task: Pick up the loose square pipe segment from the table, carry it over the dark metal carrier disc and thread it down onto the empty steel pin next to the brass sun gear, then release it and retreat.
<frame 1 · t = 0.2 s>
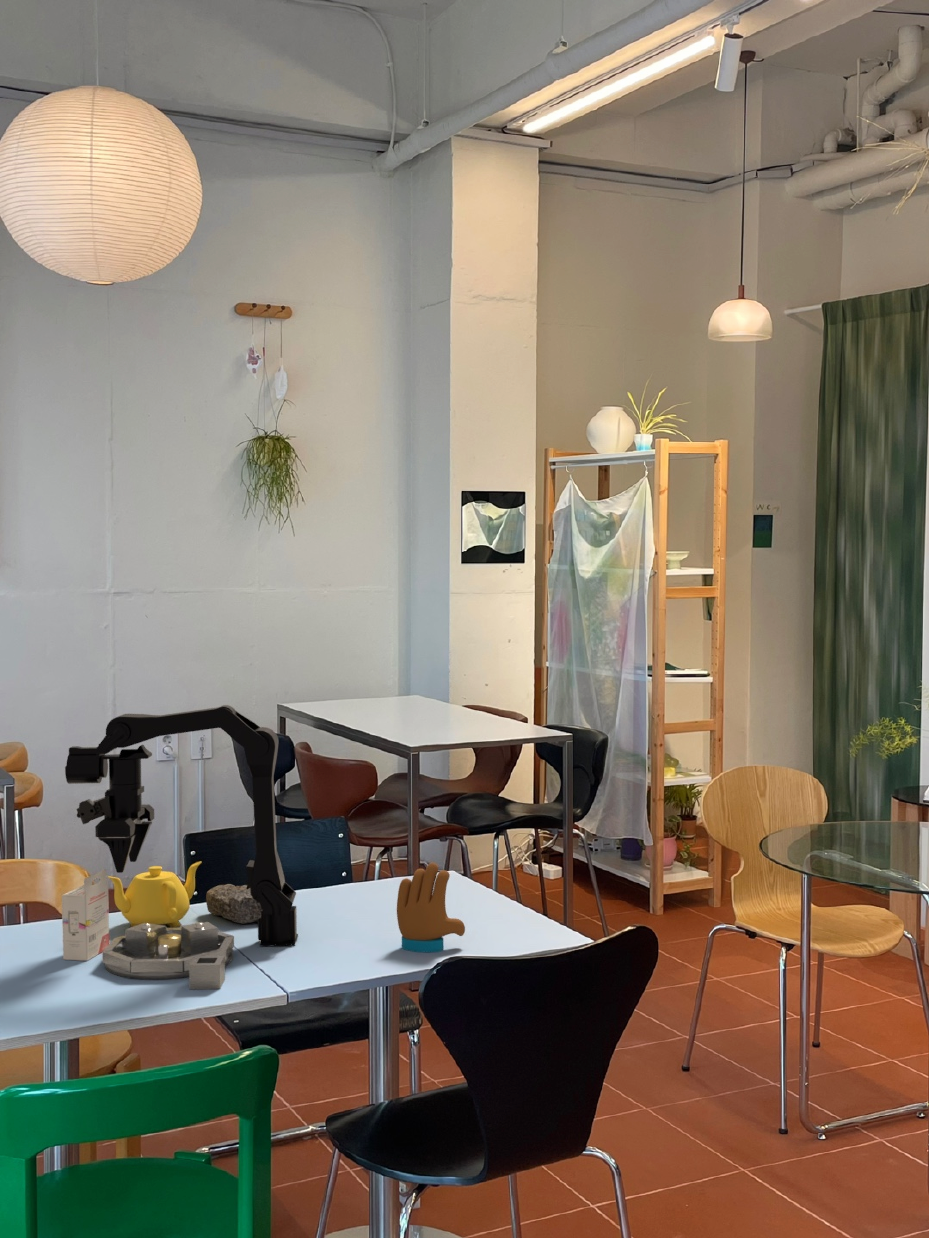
hand: (126, 866, 232), 14 cm above the table, fingers open, 9 cm apart
ink cartridge box: (86, 955, 226), on the table
carrier: (169, 960, 222), on the table
teapot: (157, 927, 245), on the table
square pipe segment: (207, 984, 208), on the table
toy: (429, 948, 229), on the table
rock: (244, 918, 252), on the table
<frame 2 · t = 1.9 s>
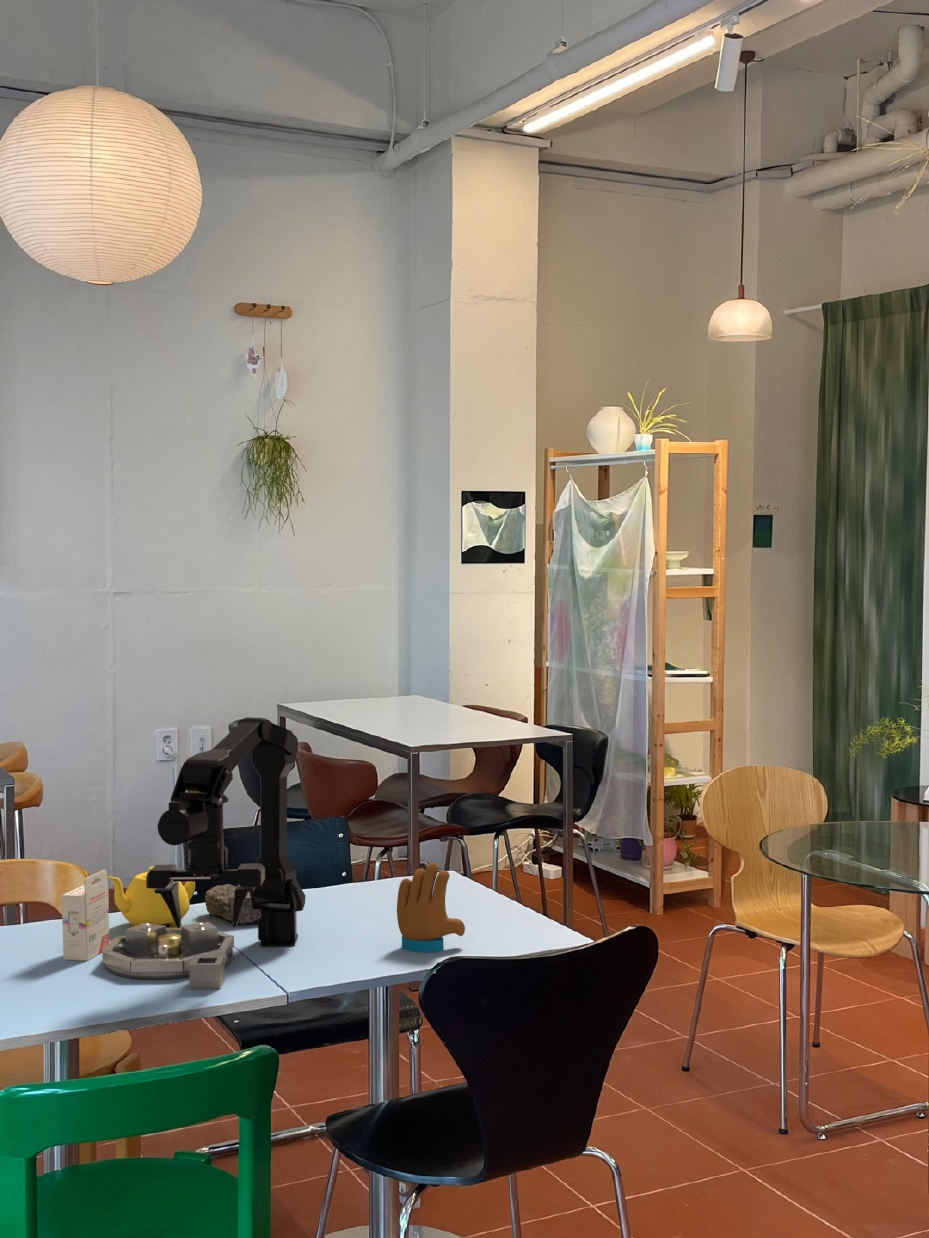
hand: (206, 927, 208), 9 cm above the table, fingers open, 9 cm apart
nothing on the table moved.
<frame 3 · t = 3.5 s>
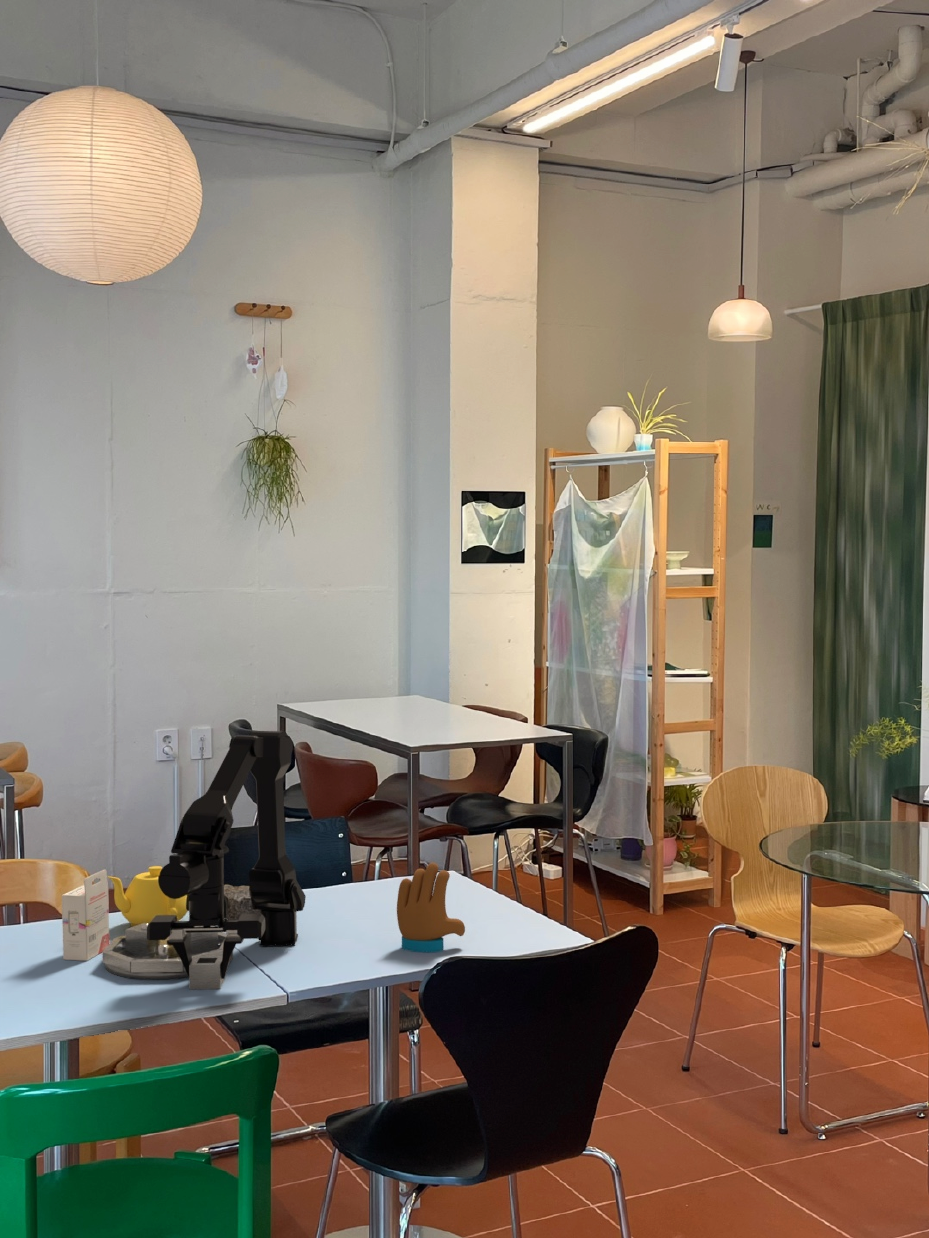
hand: (207, 978, 208), 1 cm above the table, fingers closed on square pipe segment, 5 cm apart
square pipe segment: (207, 984, 208), on the table, touching gripper
everything else where it was.
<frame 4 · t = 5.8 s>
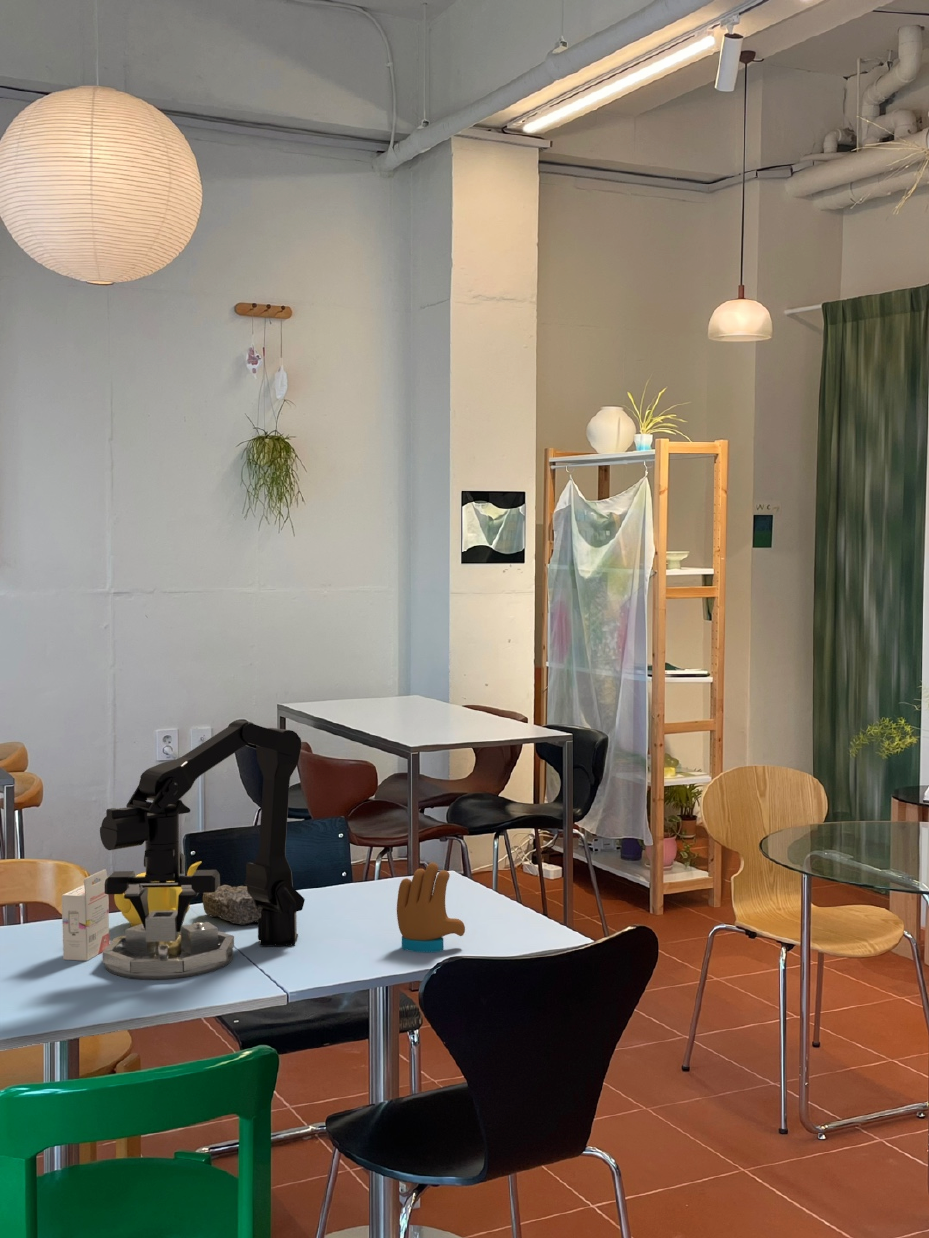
hand: (163, 931, 216), 7 cm above the table, fingers closed on square pipe segment, 5 cm apart
square pipe segment: (163, 937, 216), point 6 cm above the table, touching gripper
everything else where it was.
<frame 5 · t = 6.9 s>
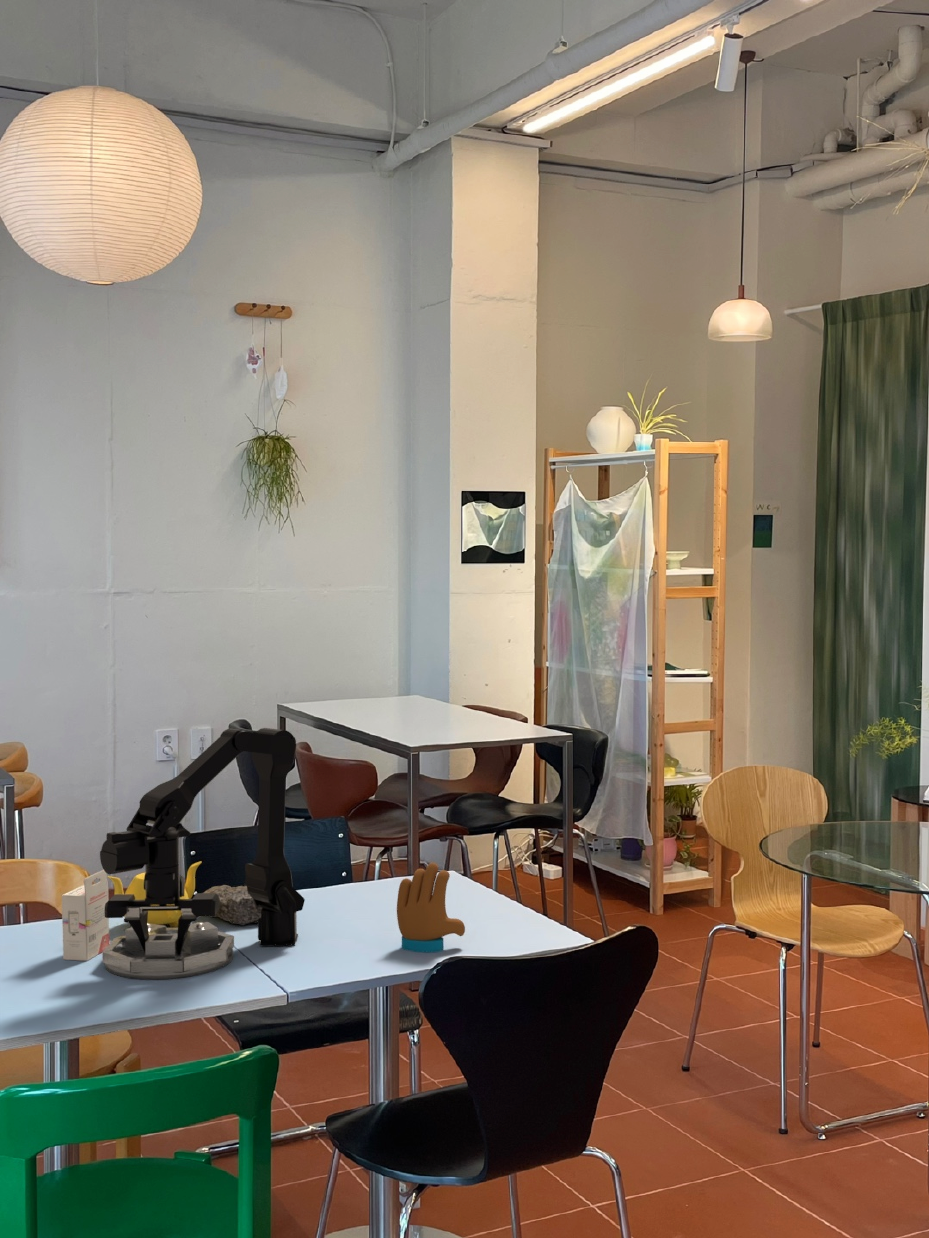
hand: (163, 954, 216), 3 cm above the table, fingers closed on square pipe segment, 5 cm apart
square pipe segment: (163, 960, 216), point 2 cm above the table, touching gripper
everything else where it was.
when the fingers open (3 cm above the table, at t = 7.8 s): square pipe segment stays where it is, resting on carrier.
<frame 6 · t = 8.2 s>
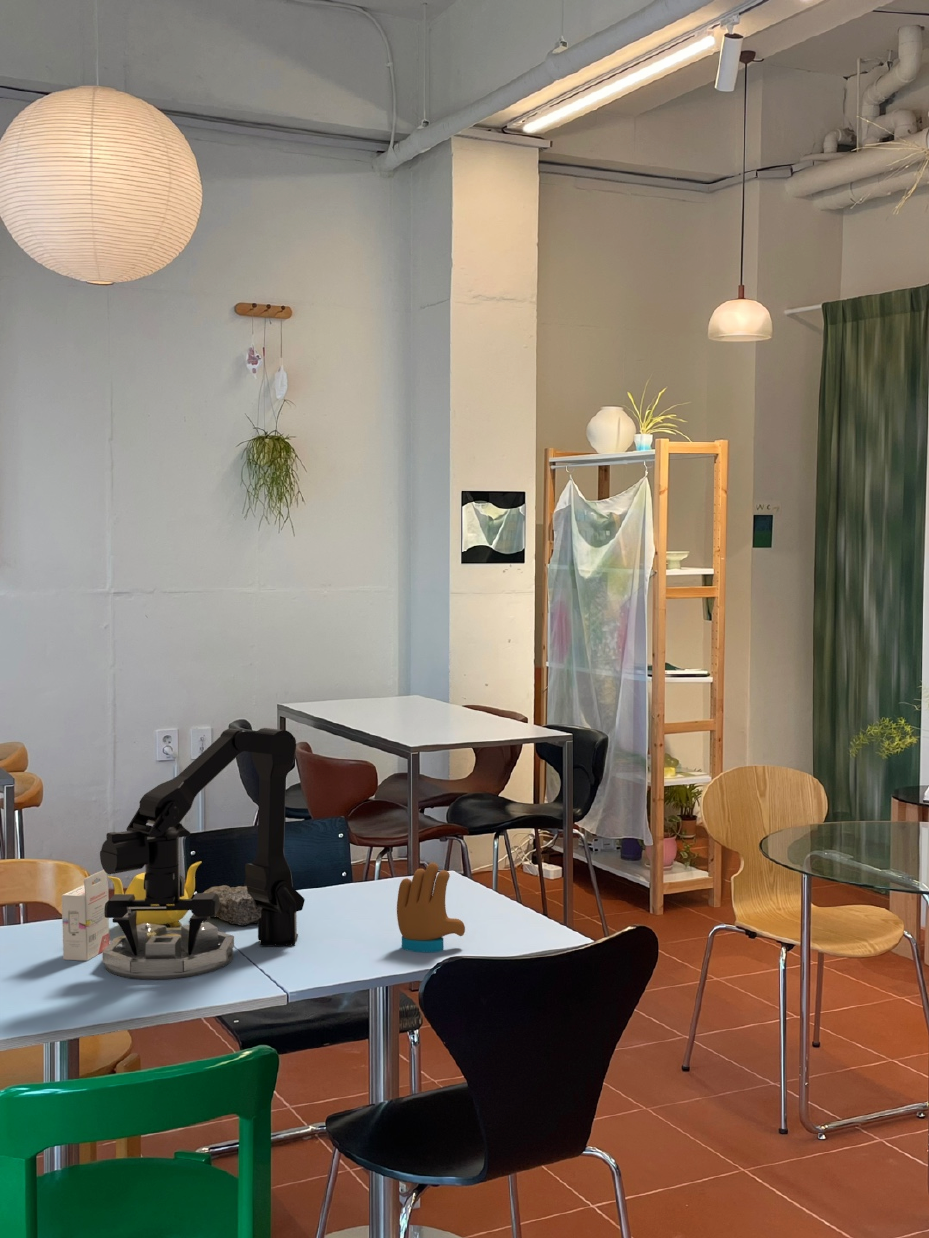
hand: (163, 954, 216), 3 cm above the table, fingers open, 9 cm apart
square pipe segment: (163, 962, 216), point 1 cm above the table, touching carrier
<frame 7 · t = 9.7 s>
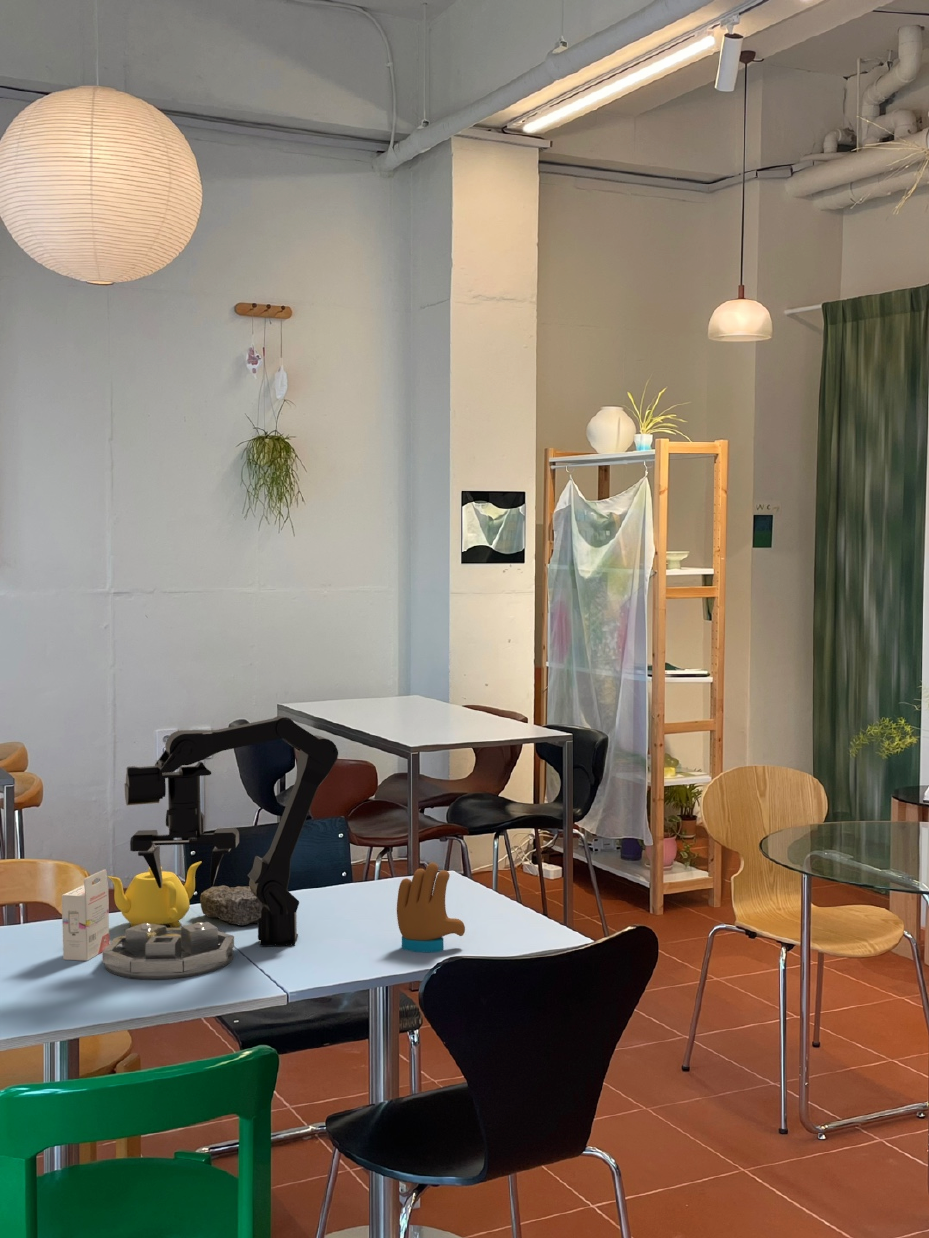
hand: (186, 886, 227), 12 cm above the table, fingers open, 9 cm apart
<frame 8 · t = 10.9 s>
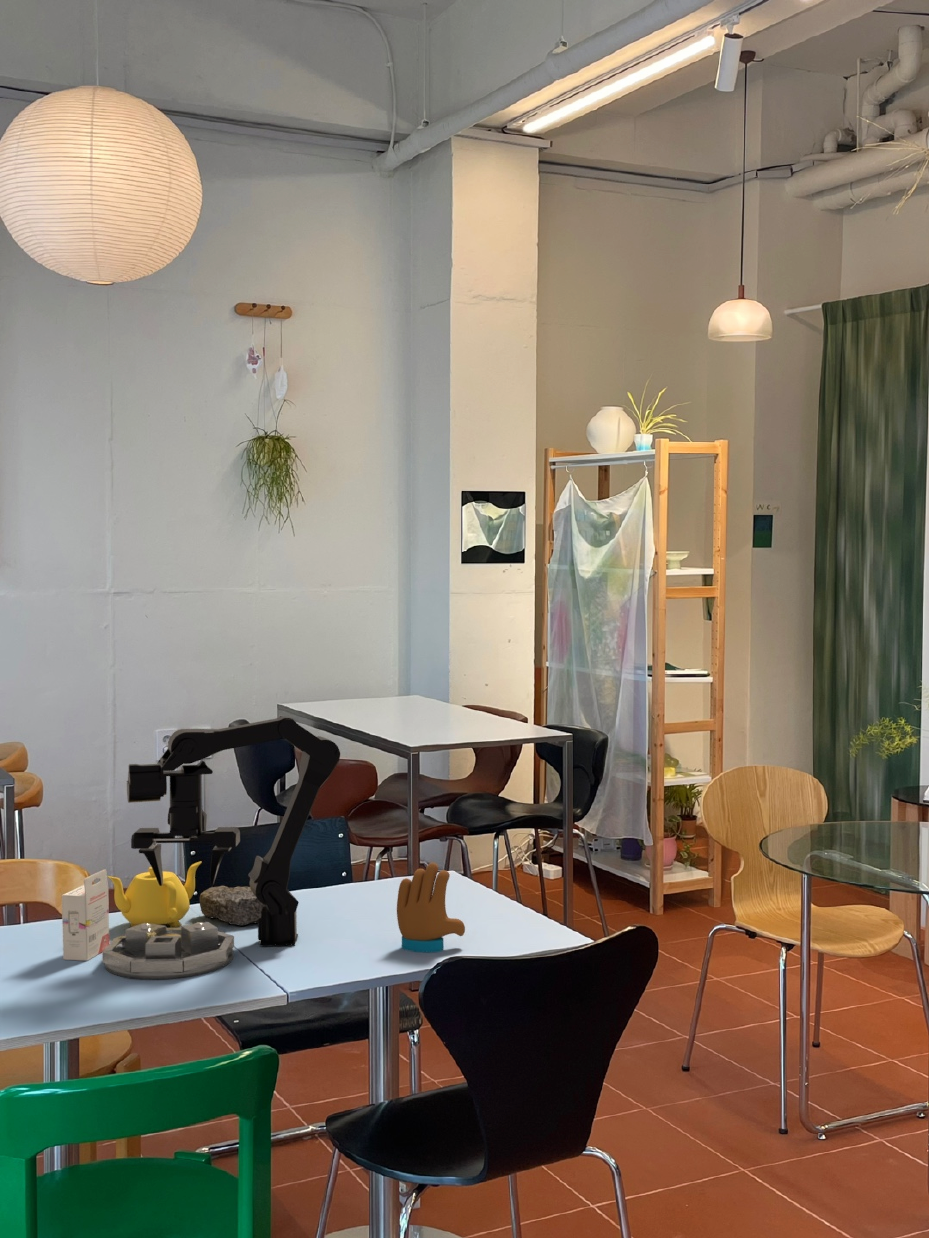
hand: (186, 884, 228), 12 cm above the table, fingers open, 9 cm apart
at the end: square pipe segment 0.0 cm from the target spot on the carrier, point 1.2 cm above the carrier's base; square pipe segment tilted 0°; the gripper is holding nothing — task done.
